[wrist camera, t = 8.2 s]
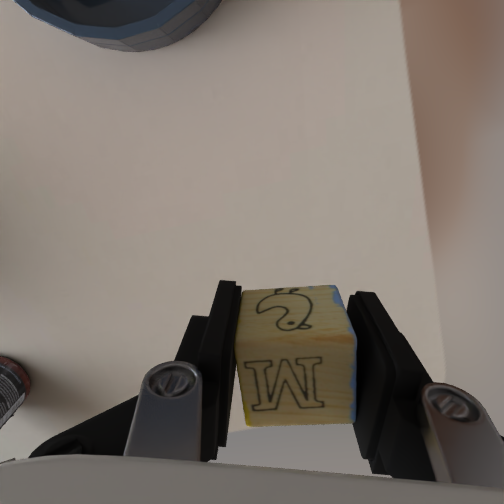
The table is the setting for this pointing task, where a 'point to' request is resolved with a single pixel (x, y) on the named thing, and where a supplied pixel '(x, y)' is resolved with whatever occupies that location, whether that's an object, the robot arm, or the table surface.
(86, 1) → the bowl
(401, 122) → the table surface
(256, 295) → the alphabet block
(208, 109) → the table surface
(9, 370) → the supplement bottle
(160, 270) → the table surface
